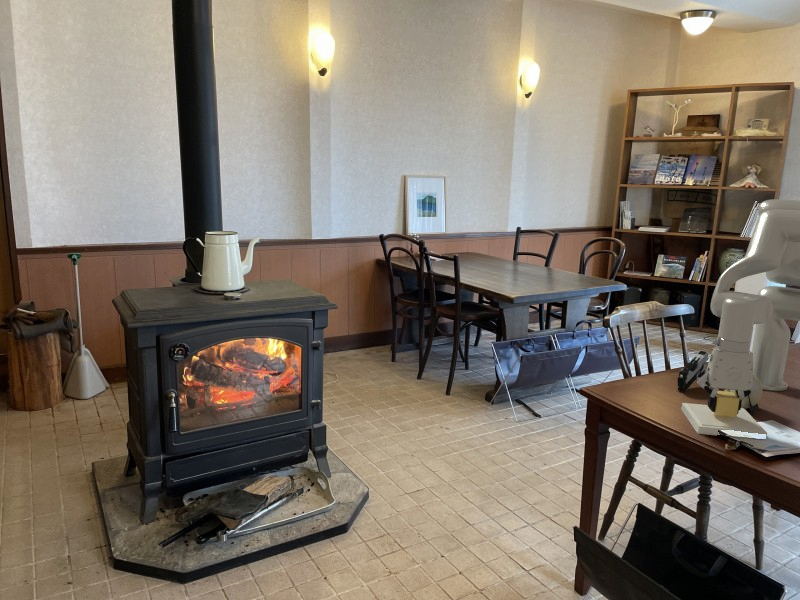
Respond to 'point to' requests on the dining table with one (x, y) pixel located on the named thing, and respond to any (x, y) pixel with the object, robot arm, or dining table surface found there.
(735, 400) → the mustard cube
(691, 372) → the toy gun
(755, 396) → the decorative object
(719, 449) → the dining table surface
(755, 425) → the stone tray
